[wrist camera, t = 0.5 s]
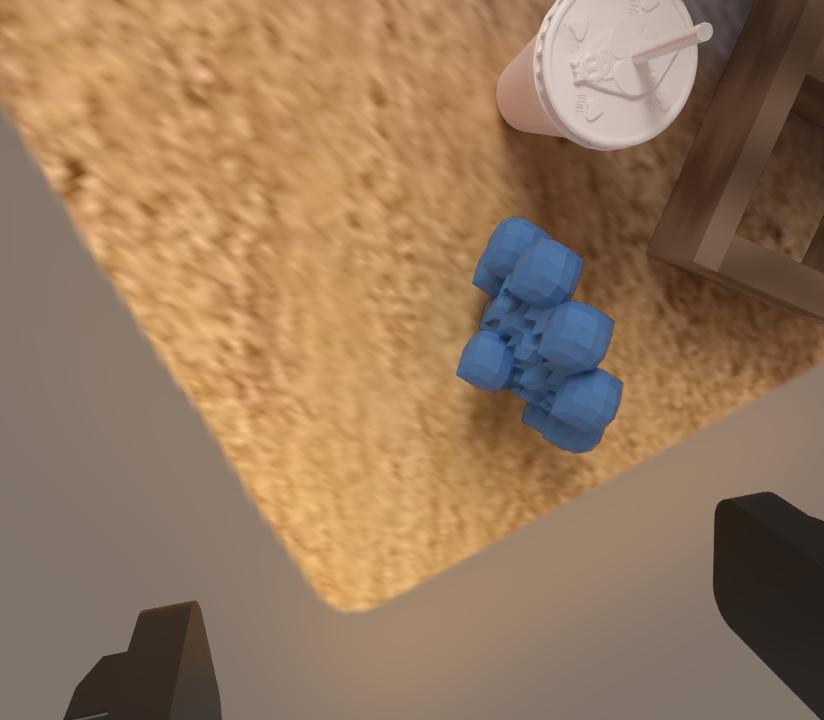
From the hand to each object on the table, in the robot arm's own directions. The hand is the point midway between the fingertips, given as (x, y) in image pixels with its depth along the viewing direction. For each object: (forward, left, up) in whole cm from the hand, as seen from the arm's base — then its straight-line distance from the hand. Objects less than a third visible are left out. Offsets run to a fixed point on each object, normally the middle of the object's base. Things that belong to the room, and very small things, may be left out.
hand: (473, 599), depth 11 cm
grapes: (-2, +8, -27) cm, 28 cm away
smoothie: (-14, +6, -27) cm, 31 cm away
